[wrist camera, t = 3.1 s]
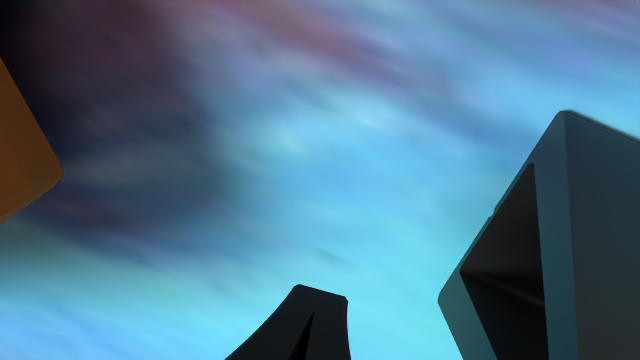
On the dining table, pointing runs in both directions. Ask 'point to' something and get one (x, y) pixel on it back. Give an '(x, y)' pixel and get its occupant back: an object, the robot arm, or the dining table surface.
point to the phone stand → (556, 256)
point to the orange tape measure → (22, 152)
